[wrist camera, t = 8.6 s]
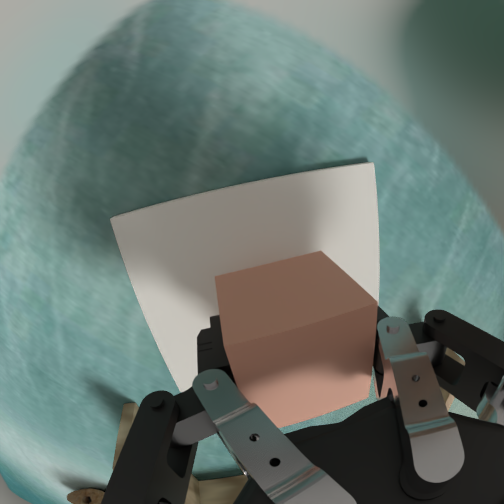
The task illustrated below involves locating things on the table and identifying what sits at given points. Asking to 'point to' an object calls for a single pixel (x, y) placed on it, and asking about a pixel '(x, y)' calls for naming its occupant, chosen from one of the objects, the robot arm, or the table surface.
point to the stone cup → (86, 496)
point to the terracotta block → (298, 336)
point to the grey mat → (242, 246)
